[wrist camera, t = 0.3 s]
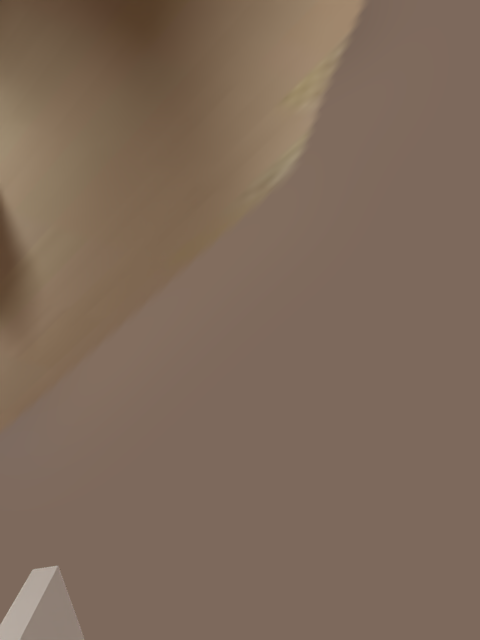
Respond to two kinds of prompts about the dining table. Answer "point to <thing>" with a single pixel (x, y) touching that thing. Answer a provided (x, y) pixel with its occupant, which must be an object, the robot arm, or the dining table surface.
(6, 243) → the dining table surface
